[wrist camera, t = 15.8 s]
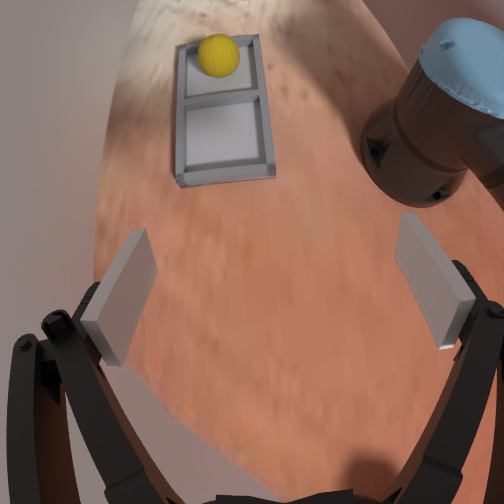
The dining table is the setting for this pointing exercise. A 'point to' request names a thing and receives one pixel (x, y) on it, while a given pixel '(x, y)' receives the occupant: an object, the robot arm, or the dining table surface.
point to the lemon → (218, 55)
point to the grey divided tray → (223, 120)
